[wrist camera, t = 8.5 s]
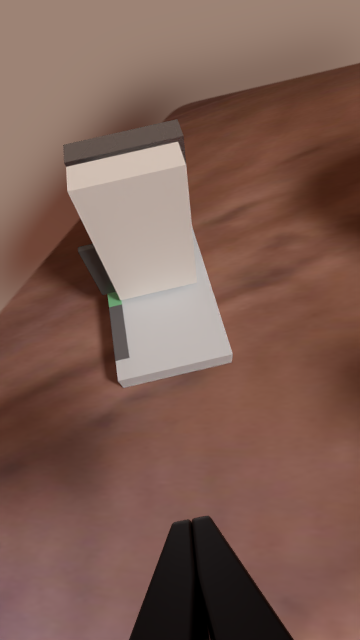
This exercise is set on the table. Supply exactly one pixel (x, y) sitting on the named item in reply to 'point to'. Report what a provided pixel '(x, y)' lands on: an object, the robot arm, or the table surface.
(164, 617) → the robot arm
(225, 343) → the base
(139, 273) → the cream upright slab
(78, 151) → the brushed steel plate
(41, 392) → the table surface
